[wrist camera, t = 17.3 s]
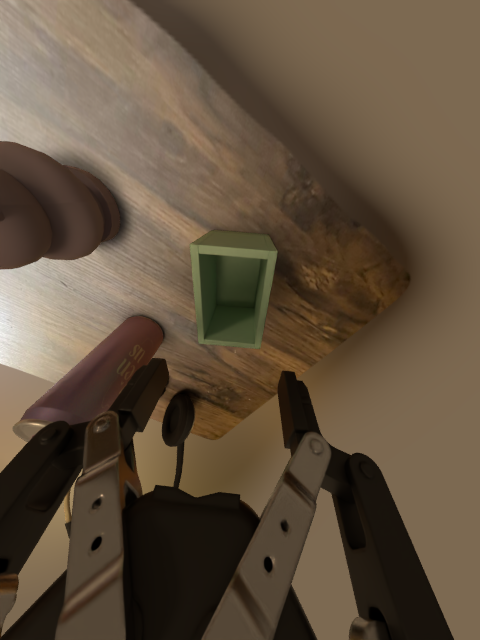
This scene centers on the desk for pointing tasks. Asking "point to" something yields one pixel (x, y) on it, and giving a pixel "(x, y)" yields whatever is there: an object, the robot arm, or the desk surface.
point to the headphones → (164, 438)
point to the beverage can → (95, 378)
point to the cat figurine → (50, 209)
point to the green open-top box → (232, 286)
